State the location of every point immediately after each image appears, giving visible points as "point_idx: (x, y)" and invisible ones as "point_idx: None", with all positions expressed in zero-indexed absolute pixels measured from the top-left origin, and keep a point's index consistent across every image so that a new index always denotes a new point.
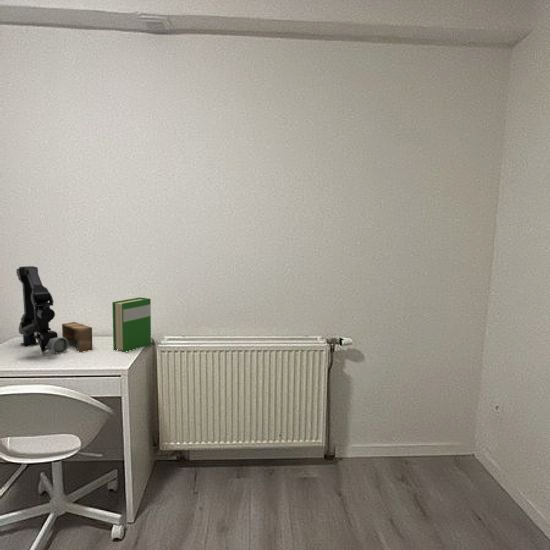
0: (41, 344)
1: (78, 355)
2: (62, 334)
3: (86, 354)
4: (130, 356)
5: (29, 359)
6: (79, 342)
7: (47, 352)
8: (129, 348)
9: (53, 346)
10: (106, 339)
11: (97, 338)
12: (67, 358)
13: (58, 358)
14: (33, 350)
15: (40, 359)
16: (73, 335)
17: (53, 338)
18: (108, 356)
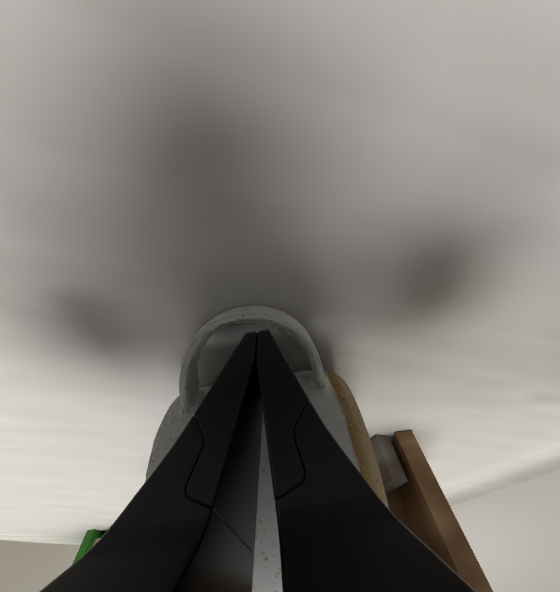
0: (193, 419)
1: (105, 449)
2: (462, 539)
3: (113, 470)
4: (12, 535)
5: (111, 119)
6: None
7: (186, 354)
8: None
9: (152, 456)
10: None
11: None
12: (38, 408)
13: (57, 371)
14: (502, 271)
15: (63, 247)
16: (414, 532)
17: (262, 568)
18: (33, 507)
